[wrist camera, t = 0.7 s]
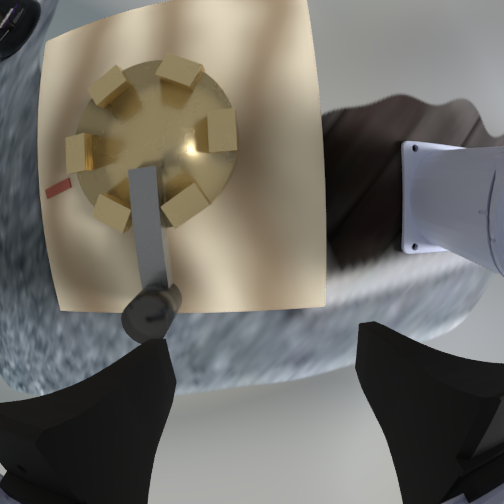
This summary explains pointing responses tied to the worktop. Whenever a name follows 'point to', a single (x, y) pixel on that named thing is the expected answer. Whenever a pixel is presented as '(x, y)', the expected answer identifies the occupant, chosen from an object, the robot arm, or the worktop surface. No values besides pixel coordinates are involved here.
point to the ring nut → (153, 167)
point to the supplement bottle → (17, 23)
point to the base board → (242, 179)
